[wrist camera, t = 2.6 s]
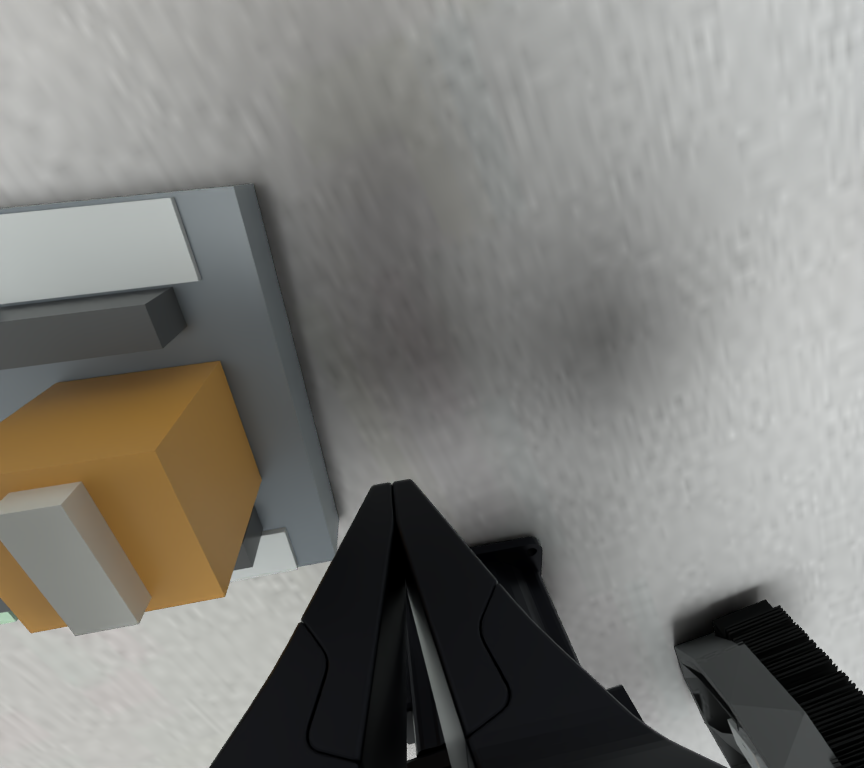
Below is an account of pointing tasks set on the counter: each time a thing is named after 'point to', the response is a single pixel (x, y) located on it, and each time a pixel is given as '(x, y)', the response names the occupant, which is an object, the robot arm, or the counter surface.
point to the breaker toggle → (122, 497)
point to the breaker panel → (171, 335)
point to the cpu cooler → (773, 694)
